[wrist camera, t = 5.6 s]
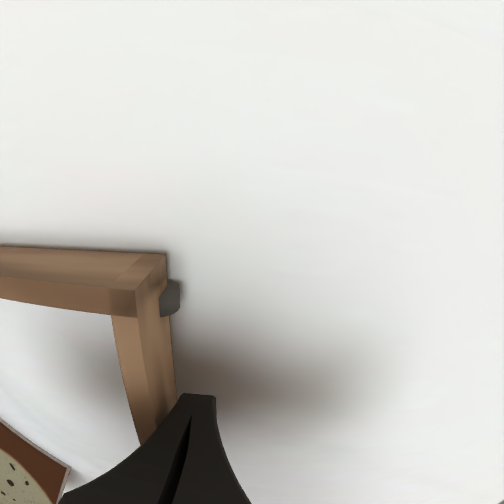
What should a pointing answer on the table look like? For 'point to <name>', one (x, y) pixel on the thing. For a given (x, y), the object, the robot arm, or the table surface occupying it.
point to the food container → (28, 471)
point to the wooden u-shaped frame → (109, 312)
